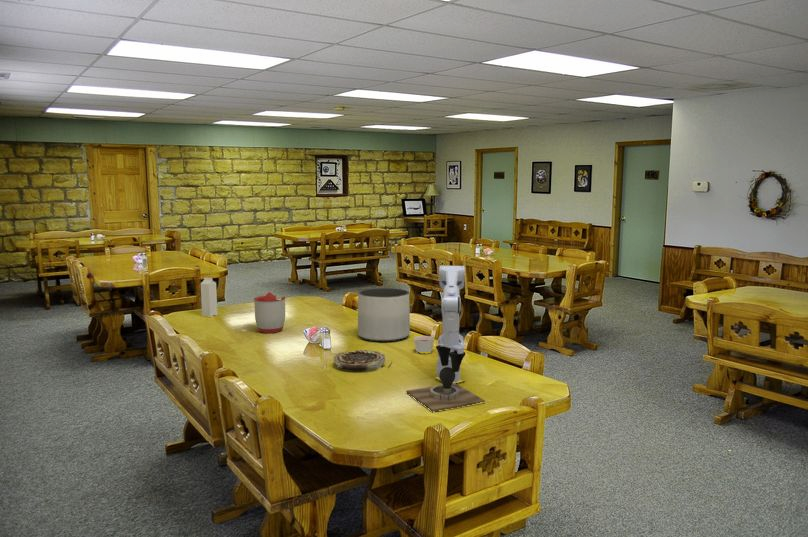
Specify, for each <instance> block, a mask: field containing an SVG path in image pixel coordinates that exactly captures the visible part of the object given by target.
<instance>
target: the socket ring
mask: <svg viewBox="0 0 808 537" xmlns="http://www.w3.org/2000/svg"><path fill="white" fill-rule="evenodd" d="M433 386H434V387H432V386H431V387H432V388H430V397H432V398H433V399H437V400H442V401H449V400H455V399H457V398H458V397H459V389H458V388H456V387H454V386H451V392H452V393H450V394H440V393H436V392H441V391H444V388H443V384H438V385H433Z"/></svg>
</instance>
